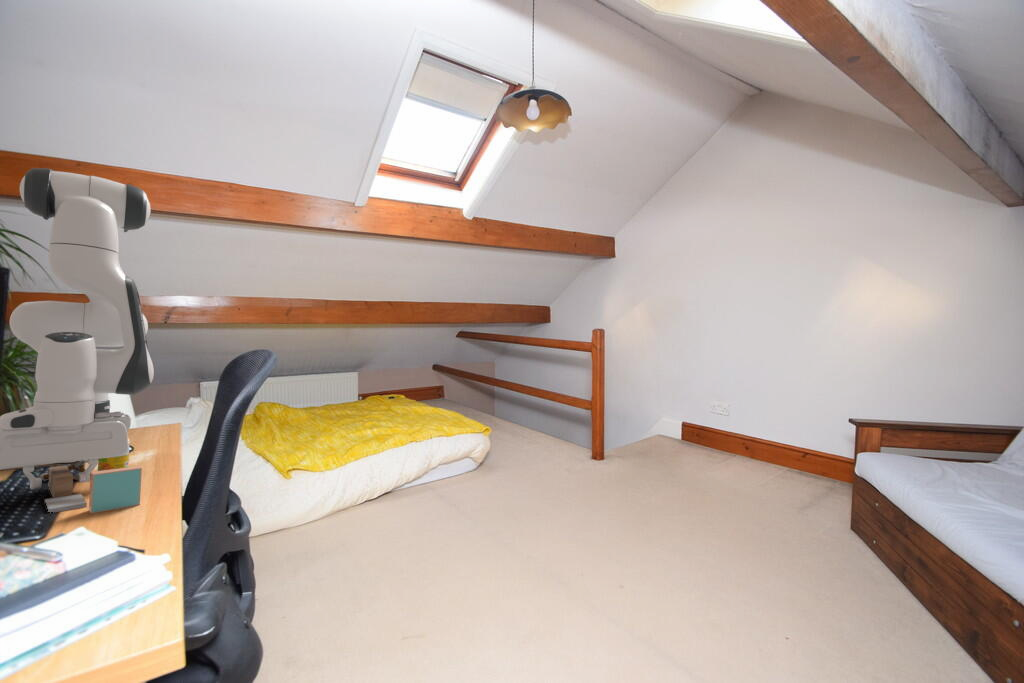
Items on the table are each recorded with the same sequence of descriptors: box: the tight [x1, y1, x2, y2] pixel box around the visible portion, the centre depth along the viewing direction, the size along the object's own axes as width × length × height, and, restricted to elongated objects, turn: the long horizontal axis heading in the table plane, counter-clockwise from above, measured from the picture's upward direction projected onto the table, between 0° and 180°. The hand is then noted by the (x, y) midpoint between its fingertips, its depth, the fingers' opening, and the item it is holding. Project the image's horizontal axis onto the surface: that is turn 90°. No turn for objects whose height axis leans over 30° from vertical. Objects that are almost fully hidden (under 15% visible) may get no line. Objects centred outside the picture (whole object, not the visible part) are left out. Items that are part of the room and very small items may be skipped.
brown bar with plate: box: [44, 464, 88, 514], centre depth 91 cm, size 17×5×4 cm, turn 49°
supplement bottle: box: [97, 438, 131, 471], centre depth 109 cm, size 5×5×10 cm
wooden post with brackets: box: [39, 460, 87, 481], centre depth 101 cm, size 2×8×4 cm, turn 105°
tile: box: [88, 465, 143, 515], centre depth 87 cm, size 2×7×7 cm, turn 139°
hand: (60, 484), depth 93 cm, fingers open, 5 cm apart
